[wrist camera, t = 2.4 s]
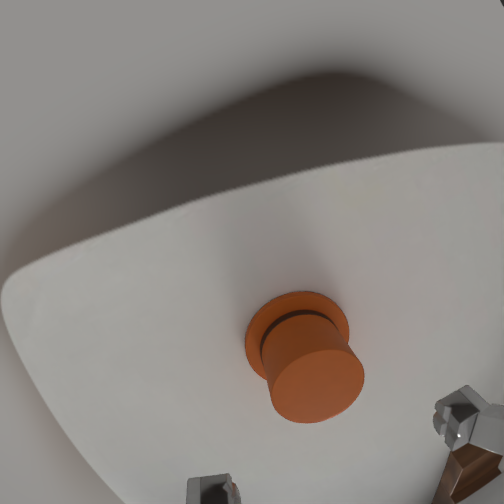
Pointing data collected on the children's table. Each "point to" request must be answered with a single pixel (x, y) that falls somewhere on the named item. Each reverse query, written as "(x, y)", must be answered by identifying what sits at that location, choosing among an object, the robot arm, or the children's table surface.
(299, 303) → the hat
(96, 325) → the children's table surface
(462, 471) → the stand
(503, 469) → the robot arm
